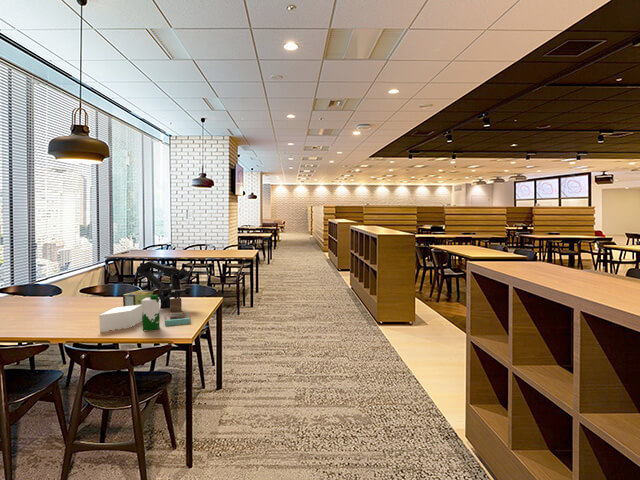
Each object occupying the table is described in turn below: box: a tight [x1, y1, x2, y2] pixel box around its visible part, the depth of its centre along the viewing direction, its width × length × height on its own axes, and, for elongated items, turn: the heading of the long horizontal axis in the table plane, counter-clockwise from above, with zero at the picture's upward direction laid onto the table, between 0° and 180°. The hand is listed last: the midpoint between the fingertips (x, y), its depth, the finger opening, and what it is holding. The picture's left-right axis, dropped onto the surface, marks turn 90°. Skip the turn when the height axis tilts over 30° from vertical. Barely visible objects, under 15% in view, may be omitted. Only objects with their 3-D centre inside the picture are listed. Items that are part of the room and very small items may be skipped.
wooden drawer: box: [169, 297, 184, 320], centre depth 256 cm, size 14×8×11 cm, turn 22°
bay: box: [164, 313, 191, 327], centre depth 246 cm, size 15×14×3 cm
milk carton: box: [141, 294, 161, 332], centre depth 230 cm, size 9×9×20 cm
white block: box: [98, 304, 142, 333], centre depth 237 cm, size 14×29×10 cm, turn 153°
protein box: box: [122, 289, 154, 307], centre depth 258 cm, size 10×15×16 cm
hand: (177, 302), depth 267 cm, fingers closed
